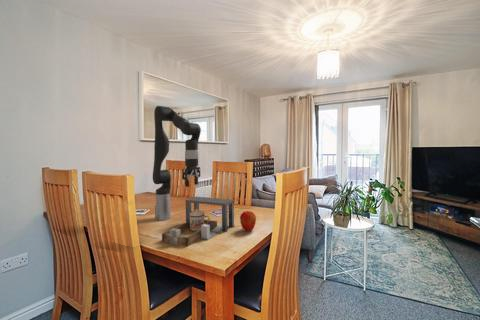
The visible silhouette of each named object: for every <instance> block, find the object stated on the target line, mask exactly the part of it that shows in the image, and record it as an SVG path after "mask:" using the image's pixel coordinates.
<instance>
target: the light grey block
mask: <svg viewBox="0 0 480 320" xmlns="http://www.w3.org/2000/svg"><path fill="white" fill-rule="evenodd" d="M215 235H216V233H213V232H210V225H207V224H203V225H201V237H200V239H199V240H204V241H205V240H206V241H208V240H210V239H211V238H213V237H214V236H215Z"/></svg>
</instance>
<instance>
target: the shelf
mask: <svg viewBox="0 0 480 320" xmlns="http://www.w3.org/2000/svg"><path fill="white" fill-rule="evenodd" d="M192 203H193V211H195V209H199V210H200V204H203V205H214V206H220V207H221V225H222V230H221V232H224V233H227V232H228V230H229V228H234V227H235V218H234V217H235V204H234V203H235V201H234V199H228V198H216V197H215V198H214V197H207V196H206V197H205V196H193V197H190V198H187V199H185V223H186V222H188V221H190V216H189V214H190V213H191V212H192Z"/></svg>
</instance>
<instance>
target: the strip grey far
mask: <svg viewBox="0 0 480 320" xmlns="http://www.w3.org/2000/svg"><path fill="white" fill-rule="evenodd" d="M211 232H212V233H215V234H219V233H220V232H222V224H219V225H218V224H217V227H215V228H214V229H212V230H211Z"/></svg>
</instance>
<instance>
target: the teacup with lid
mask: <svg viewBox="0 0 480 320" xmlns="http://www.w3.org/2000/svg"><path fill="white" fill-rule="evenodd" d="M189 216H190V228H189V230H191V231H192V232H197V231H199V230H200V229H201V225H203V224H208V223H209V221H210V220H211V219H210V216H208V215H206V214H205V212H203V211H201V210H200V208H199V209H195V211H194V210H193V211H191V213H190V214H189ZM205 218H207V220H208V222H207V223H204V219H205Z"/></svg>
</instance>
